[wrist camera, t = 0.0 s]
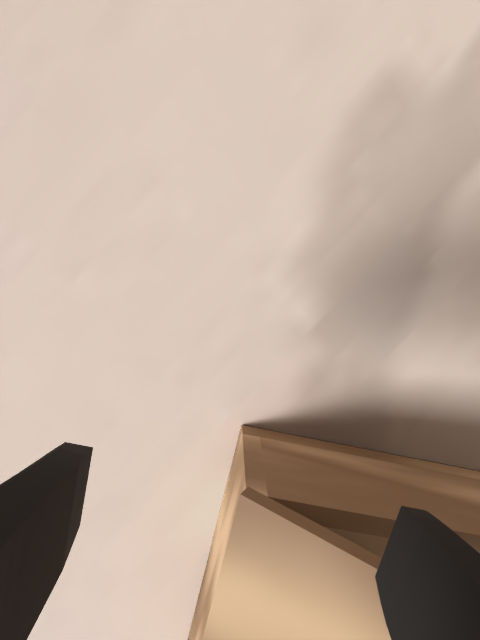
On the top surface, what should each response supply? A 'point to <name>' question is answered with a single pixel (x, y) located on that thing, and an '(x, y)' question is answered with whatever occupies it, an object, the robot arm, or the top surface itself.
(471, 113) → the top surface
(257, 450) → the wooden box
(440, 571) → the robot arm
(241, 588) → the box lid
